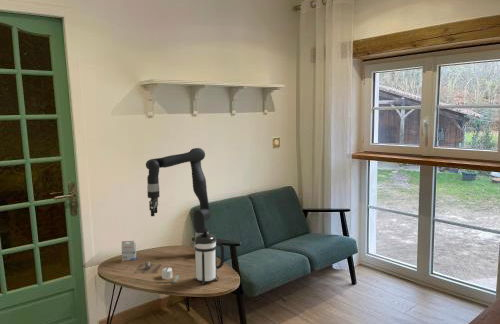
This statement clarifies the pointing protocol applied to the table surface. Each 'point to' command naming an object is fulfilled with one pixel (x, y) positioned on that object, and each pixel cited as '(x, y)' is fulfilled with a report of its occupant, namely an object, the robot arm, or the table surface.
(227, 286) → the table surface
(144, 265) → the post base
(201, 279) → the coffee press
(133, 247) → the ink box
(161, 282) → the sage mat
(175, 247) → the table surface
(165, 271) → the cap
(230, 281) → the table surface
